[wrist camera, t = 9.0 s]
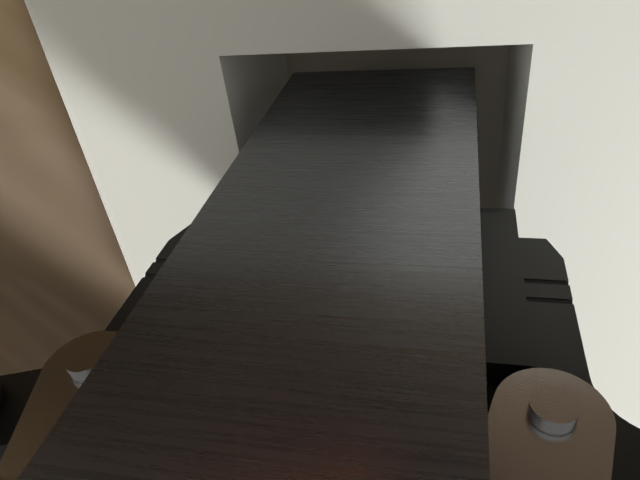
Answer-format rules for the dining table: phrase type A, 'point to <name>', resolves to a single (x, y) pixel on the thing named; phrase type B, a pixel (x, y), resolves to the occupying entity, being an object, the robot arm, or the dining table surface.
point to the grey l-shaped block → (309, 305)
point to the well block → (375, 54)
